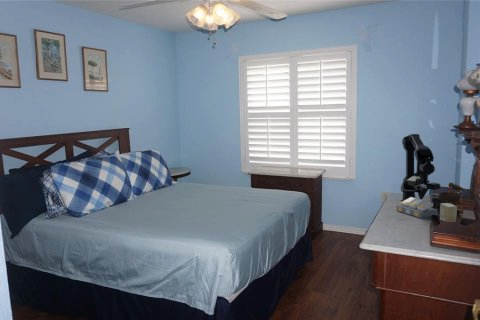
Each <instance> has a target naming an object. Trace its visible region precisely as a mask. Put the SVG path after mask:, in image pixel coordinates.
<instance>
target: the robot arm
mask: <svg viewBox="0 0 480 320" xmlns="http://www.w3.org/2000/svg"><path fill="white" fill-rule="evenodd" d="M420 137H421V136H420V134H417V133H411V134H408V135H407V136H404V137H403V138H402V140H401V144H402V148H403V150H404V151H405V176H404V178H403V180H402V183H401V186H400V192H402V199H401V200H400V202H403V201H405V200H406V199H408V198H410V197H413V198H416V193H417V195H418V197H419V198H418V199H420V200H423V199H424V197H425V196H426V194H427V192H428V191H429V190H431V191H434V190H439V189H441V184H440V183H439V182H431V181H430V180H429V176H430V175H431V174H433V173H435V171H436V170H435V169H436V168H435V165H434V164H433V163H432V162H434V159H435V158H434V154H433V152H432V150H431V148H430V147H429V146H428V145H425V144H424V142H423V141H422V139H421V138H420ZM415 160H416V170H415Z"/></svg>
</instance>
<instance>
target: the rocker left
mask: <svg viewBox="0 0 480 320" xmlns="http://www.w3.org/2000/svg"><path fill="white" fill-rule="evenodd" d="M415 201H417V198H416V197H415V198H413V197H410V198H408V199H406V200H405V201H400V205H402V206H405V207H406V206H408V205H409V204H410V203H413V202H415Z"/></svg>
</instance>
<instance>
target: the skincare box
mask: <svg viewBox="0 0 480 320" xmlns="http://www.w3.org/2000/svg"><path fill="white" fill-rule="evenodd" d="M457 210H458V205H456V206H455V205H453V203H441V205H440V211H439V213H440V220H443V221H446V222H456V218H457Z"/></svg>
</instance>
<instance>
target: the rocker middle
mask: <svg viewBox="0 0 480 320" xmlns="http://www.w3.org/2000/svg"><path fill="white" fill-rule="evenodd" d="M424 203H426V202H425V200H423V199H420V198H418V199H416V201H415V202H413V203H410V204H409V207H410V208H414V209H415V208H417V207H418V206H419V205H422V204H424Z"/></svg>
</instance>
